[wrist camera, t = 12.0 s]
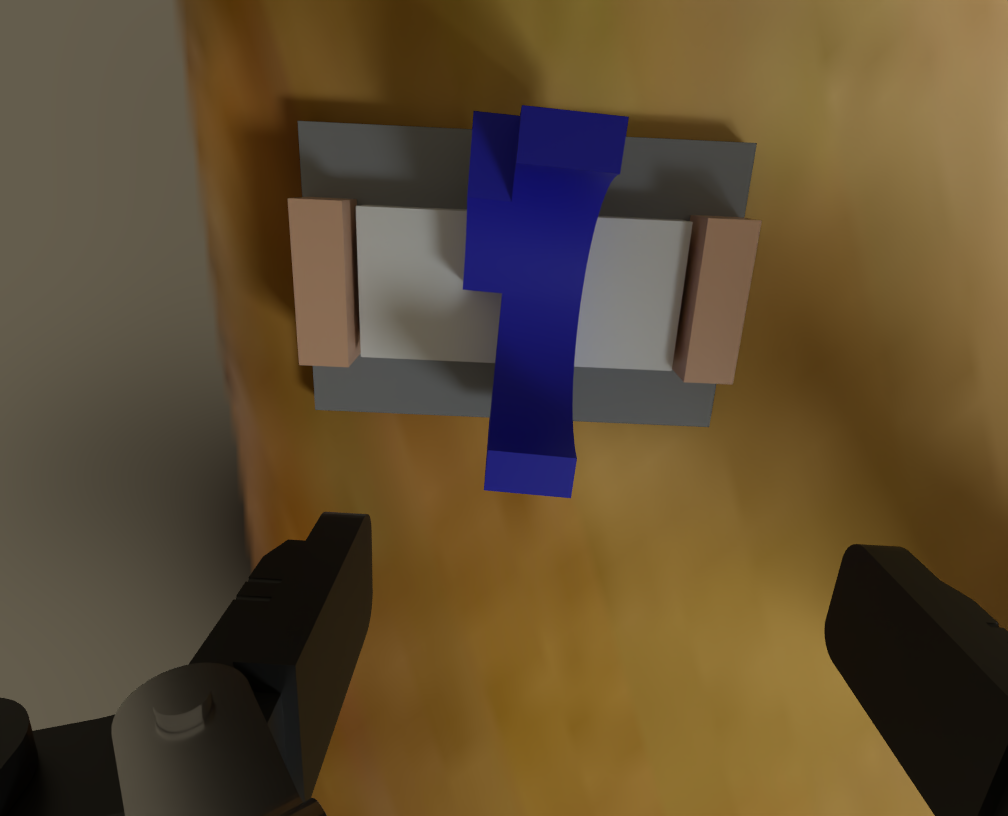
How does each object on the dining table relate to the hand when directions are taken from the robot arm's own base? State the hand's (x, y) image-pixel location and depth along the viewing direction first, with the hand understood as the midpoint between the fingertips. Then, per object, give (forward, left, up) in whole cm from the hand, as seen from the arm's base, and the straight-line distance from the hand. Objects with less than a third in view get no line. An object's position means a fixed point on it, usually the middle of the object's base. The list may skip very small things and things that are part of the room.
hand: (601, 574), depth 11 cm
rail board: (+1, -2, -19) cm, 19 cm away
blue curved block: (+1, -2, -16) cm, 17 cm away
